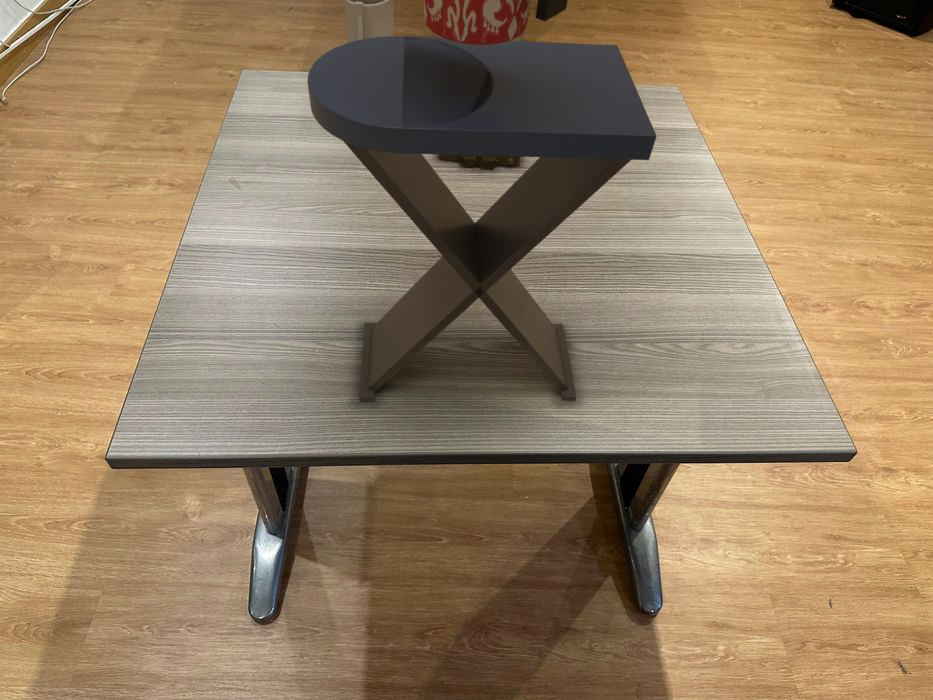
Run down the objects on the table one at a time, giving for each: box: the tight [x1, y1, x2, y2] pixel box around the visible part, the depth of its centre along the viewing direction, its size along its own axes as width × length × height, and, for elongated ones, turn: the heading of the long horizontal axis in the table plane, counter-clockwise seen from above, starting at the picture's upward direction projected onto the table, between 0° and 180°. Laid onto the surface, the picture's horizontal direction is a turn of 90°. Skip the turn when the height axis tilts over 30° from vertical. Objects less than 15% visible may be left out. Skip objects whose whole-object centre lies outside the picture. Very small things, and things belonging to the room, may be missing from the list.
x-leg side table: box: [307, 35, 658, 402], centre depth 62 cm, size 26×14×34 cm, turn 93°
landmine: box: [438, 154, 522, 170], centre depth 104 cm, size 14×3×15 cm
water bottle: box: [343, 0, 395, 43], centre depth 98 cm, size 9×8×25 cm
